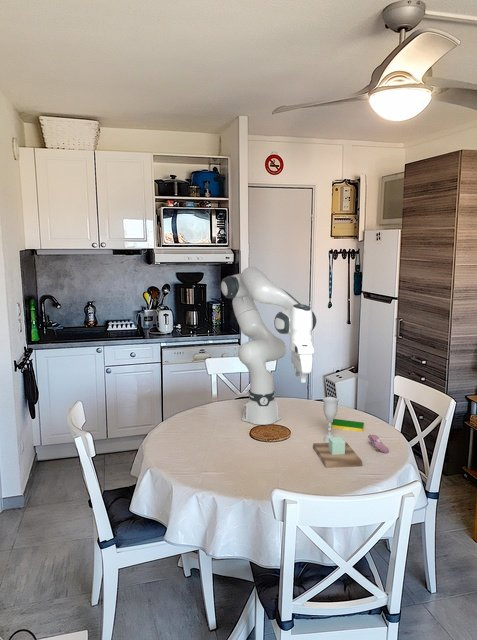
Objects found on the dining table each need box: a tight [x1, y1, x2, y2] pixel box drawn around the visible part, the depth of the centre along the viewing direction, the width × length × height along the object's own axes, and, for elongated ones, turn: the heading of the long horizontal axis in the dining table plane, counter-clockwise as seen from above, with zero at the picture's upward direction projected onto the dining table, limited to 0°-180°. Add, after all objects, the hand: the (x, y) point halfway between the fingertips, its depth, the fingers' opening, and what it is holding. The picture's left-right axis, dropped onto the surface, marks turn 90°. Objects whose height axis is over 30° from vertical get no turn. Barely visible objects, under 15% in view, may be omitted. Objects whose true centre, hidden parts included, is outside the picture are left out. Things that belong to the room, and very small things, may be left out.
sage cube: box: [328, 436, 346, 455], centre depth 189 cm, size 5×5×5 cm
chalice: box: [322, 396, 340, 443], centre depth 204 cm, size 7×7×18 cm
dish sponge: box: [331, 418, 365, 433], centre depth 221 cm, size 7×14×2 cm, turn 70°
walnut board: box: [312, 441, 363, 469], centre depth 190 cm, size 18×14×2 cm
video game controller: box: [367, 433, 389, 454], centre depth 197 cm, size 10×5×7 cm, turn 7°
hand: (300, 379), depth 194 cm, fingers open, 8 cm apart
